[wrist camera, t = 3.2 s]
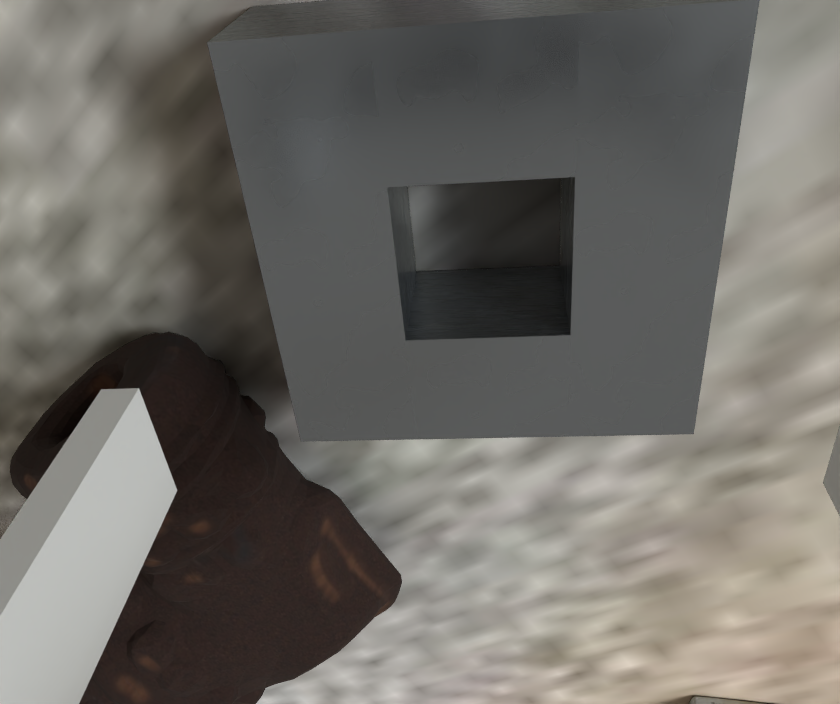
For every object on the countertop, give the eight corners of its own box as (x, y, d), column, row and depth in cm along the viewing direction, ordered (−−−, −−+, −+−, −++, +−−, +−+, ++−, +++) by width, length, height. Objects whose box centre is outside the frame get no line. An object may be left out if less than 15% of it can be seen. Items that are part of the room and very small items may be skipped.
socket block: (251, 6, 21) (207, 42, 17) (713, -32, 19) (759, -2, 16) (323, 366, 27) (300, 441, 24) (667, 356, 26) (693, 434, 23)
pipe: (142, 432, 20) (-223, 682, 23) (457, 690, 27) (145, 851, 30) (194, 267, 28) (-81, 470, 31) (425, 500, 35) (182, 644, 39)
